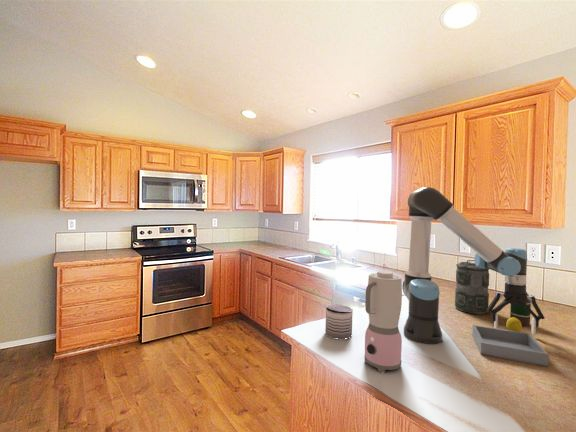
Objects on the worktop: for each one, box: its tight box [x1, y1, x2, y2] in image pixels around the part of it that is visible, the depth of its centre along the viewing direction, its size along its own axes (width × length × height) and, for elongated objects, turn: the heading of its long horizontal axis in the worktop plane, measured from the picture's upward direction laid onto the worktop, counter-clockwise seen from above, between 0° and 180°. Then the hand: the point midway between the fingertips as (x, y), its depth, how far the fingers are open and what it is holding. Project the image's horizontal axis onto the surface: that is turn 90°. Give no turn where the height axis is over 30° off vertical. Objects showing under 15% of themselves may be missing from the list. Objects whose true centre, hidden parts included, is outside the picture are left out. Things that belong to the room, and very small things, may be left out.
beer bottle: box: [509, 283, 532, 327], centre depth 145 cm, size 8×8×24 cm
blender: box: [364, 270, 403, 373], centre depth 101 cm, size 16×12×32 cm
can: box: [324, 303, 354, 339], centre depth 126 cm, size 11×11×12 cm
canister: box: [454, 259, 490, 315], centre depth 164 cm, size 16×16×28 cm
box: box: [471, 324, 550, 368], centre depth 116 cm, size 20×20×4 cm
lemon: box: [505, 317, 523, 332], centre depth 130 cm, size 6×6×8 cm
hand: (514, 331), depth 130 cm, fingers open, 13 cm apart
